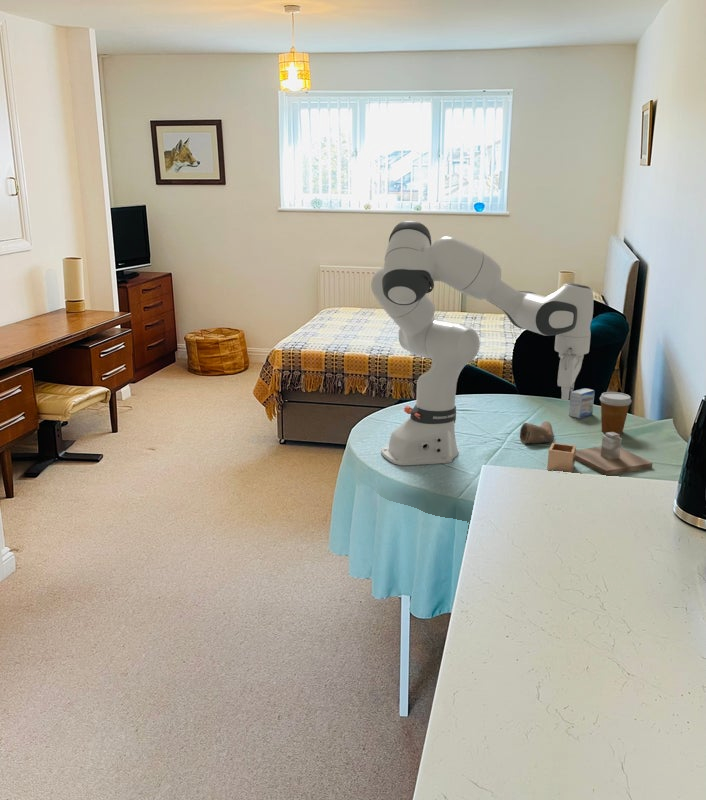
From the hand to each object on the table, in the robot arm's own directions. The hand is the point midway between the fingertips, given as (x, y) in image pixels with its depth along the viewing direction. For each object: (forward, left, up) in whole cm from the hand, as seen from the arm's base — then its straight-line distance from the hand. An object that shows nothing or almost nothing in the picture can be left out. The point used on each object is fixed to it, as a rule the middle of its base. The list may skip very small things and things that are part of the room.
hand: (567, 395), depth 199 cm
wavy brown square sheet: (+16, -1, -21) cm, 26 cm away
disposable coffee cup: (+35, +20, -21) cm, 46 cm away
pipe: (+9, +24, -22) cm, 34 cm away
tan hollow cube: (0, 0, -21) cm, 21 cm away
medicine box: (+37, +38, -21) cm, 57 cm away
